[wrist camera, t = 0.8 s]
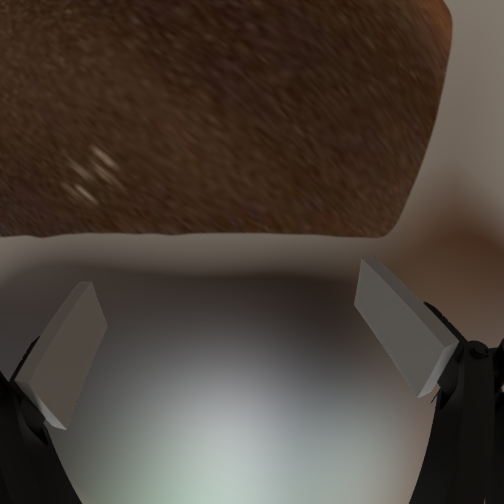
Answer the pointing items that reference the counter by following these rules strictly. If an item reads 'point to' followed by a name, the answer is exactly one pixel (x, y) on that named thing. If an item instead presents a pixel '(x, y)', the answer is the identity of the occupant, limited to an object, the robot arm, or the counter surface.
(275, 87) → the counter surface
